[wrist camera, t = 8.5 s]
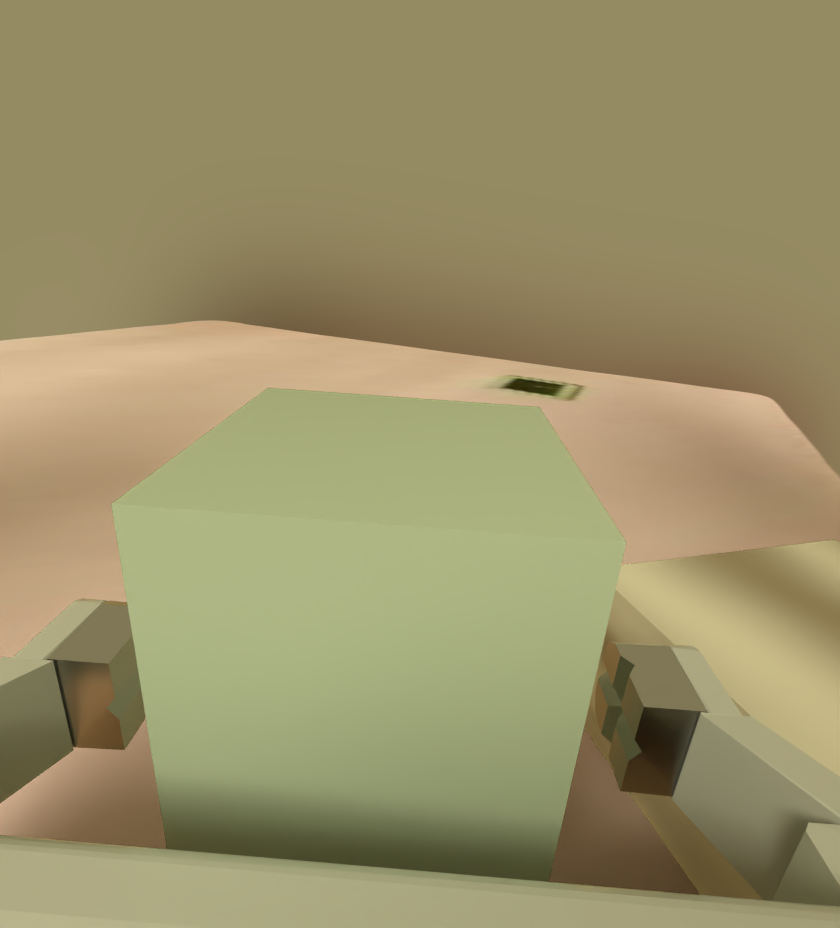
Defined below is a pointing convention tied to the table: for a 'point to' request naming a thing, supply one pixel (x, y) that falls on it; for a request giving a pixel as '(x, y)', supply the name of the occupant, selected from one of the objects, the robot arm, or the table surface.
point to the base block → (739, 661)
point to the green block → (369, 631)
